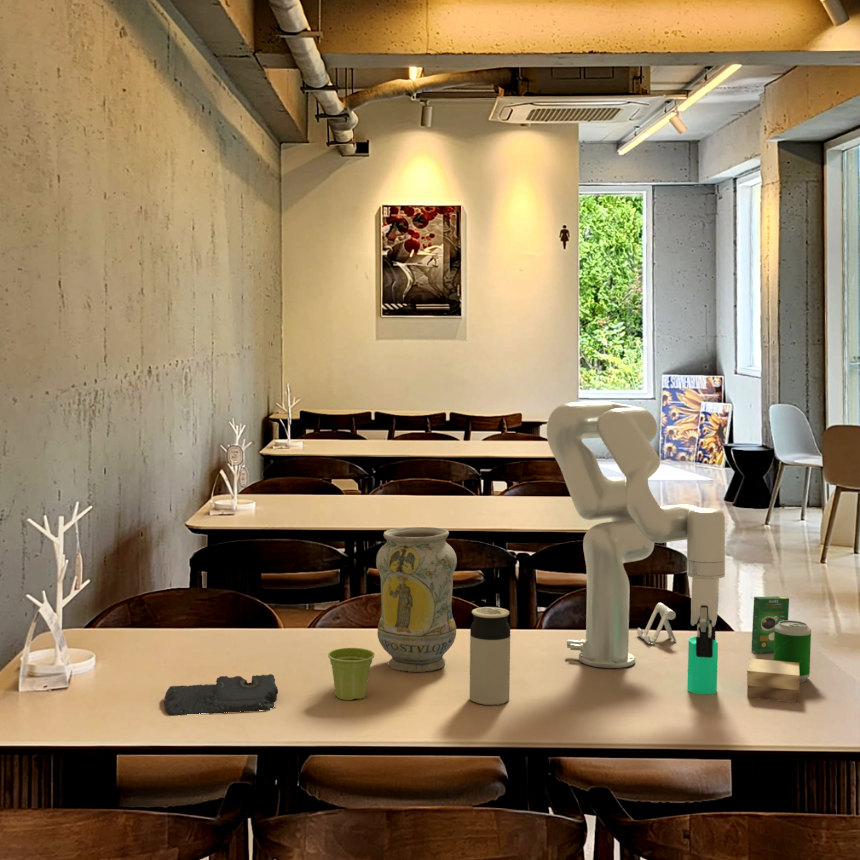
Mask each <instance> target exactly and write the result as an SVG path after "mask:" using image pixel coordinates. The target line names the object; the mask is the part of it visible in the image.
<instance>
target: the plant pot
mask: <svg viewBox="0 0 860 860" xmlns="http://www.w3.org/2000/svg"><path fill="white" fill-rule="evenodd" d="M327 657H328V658H329V661H330V662H329V663H330V665H331V670H332V676H333V678H332V679H333V686H334V693H335V697H337V698H338V699H340V700H343V701H344V700H345V701H353V700H355V699H356V700H361V698H362V699H363V698H365V697H366V696H367V689H368V684H369V683H368V681H369V675H370V669H371V665H372V662H373V659H374V657H375V653H374V651H372V650H370V649H365V648H360V647H345V648H344V647H343V648H337V649H333V650H331V651H329V652H327Z"/></svg>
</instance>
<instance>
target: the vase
mask: <svg viewBox="0 0 860 860" xmlns="http://www.w3.org/2000/svg"><path fill="white" fill-rule="evenodd" d="M449 535H450V532H449V530H448V529H445V528H441V527H433V526H432V527H431V526H410V527H408V526H407V527H399V528H398V527H397V528H391V529H387V530H386V531H384V532H383V538H384V539H385V540H386V543H384V544H383V545H382V546H381V547H380V548H379V550H378V551H377V554H376V558H375V564H376V569H377V572H378V573H379V575H380V576H379V577H380V597H381V599H380V600H381V615H380V619H379V621H378V625H377V634H376V635H377V639H378V641H379V644H380V645H381V646H382V647H381V648H382V649H383V650H384V651H385V652H386V653H387V654H388V655H389V656H391V659H390V660H388V663H387V664H388V667H390V668H391V669H393V670H395V669H397V670H396V671H400V670H401V672H406V671H408V672H407V673H426V672H425V671H428V672H432V671H437V669H438V670H441V669H442V668H444V667H445V665H446V659H444V655H445V654H446V652H447V653H448V651H449V650H450V648H451V647H452V646H453V644H454V642H455V640H456V638H457V637H456V635H457V625H456V622H455V619H454V617H453V613H452V612H453V611H452V609H453V608H452V601H453V587H454V586H453V581H454V580H453V578H454V577H453V575H454V572H455V570H456V568H457V564H458V562H457V560H458V559H457V554H456V552H455V550H454V548H452V546H451V545H450V544H449V543H447V541H446V540H447V538H448V537H449ZM440 668H441V669H440Z"/></svg>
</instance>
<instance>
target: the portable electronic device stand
mask: <svg viewBox="0 0 860 860" xmlns="http://www.w3.org/2000/svg"><path fill="white" fill-rule="evenodd" d="M658 613H659V615H660V617H661V618H660V621H659V624H658V626H657V628H656V630H655V633H654V635H653V637H651V636H650V635H648V634H649V631H650V630H651V627H652V625H653V622H654V621H655V619H656V617H657V614H658ZM676 615H677V613H676V612H675V611H673V609H671V608H669V606H667V605H665V604H664V603H662V602H658V603H657V604H656V605H655V607H654V610H653V612H652V613H651V616H650V618H649V619H648V622H647V625H646V627H645V629H644V630H643V629H641V628H640V627H637V631H636V633H637V636H639V637H640V638H641V639H642V640H643V639H644V640H643V641H644V642H645V643H647V644H648V645H649V644H651V643H653V644H654V645H655V644H656V642H657V640H658V638H659V635H660V633H661V631H662V629H663V626H664V628H665V630H666V633H667V634H668V638H669V637H670V638H672V640H673V642H674V641H676V642H677V639H676V637H675V635H674V632H673V630H672V627H671V624H670V622H669V620H674V619H676ZM670 638H669V639H670ZM649 642H650V643H649Z"/></svg>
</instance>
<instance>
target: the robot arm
mask: <svg viewBox="0 0 860 860" xmlns="http://www.w3.org/2000/svg"><path fill="white" fill-rule="evenodd" d="M657 433H658V424H657V422H656V419H655V417H654V416H653V414H652V412H650V411H648V410H647V409H646V408H644V407H639V406H633V405H629V404H628V405H627V404H621V403H616V402H612V401H573V402H566V403H564V404H560V405H559V406H557V407H555V408H554V409H553V410H552V412H551V413H550V415H549V417H548V420H547V424H546V438H547V442H548V446H549V448H550V451H551V453H552V455H553V456H554V457H553V458H554V459H555V461H556V462H557V464H558V466H559V468H560V471H561V473H562V475H563V479H564V481H565V485H566V487H567V490H568V492H569V495H570V498H571V500H572V503H573V506H574V508H575V510H576V512H577V514H578V516H579V517H581V519H584V520H587V521H599V520H606V519H610V520H611V521H607V522H601V523H600V522H599V523H598V524H595V525H593V526H592V527H590V528H589V529H588V530H587V531H586V533H585V535H584V536H583V541H582V542H583V543H582V546H583V554H584V561H585V566H586V567H585V569H586V615H585V617H586V622H585V625H586V626H585V628H586V630H585V632H586V633H585V639H581V640H576V639H567V641H566V648H567V649H570V651H580V653H579V654H578V661H579V662H581V663H582V664H584V665H587V666H590V667H595V668H601V669H602V668H603V669H619V668H620V669H622V668H627V667H630V666H632V665H634V664H635V663H636V657H635V655H633V654H632V653H630V652H629V636H630V635H629V631H630V630H629V627H630V626H629V625H630V624H629V623H630V580H629V577H628V574H627V571H626V570H625V567H624V564H625V563H631V562H637V561H642V560H644V559H647V558H648V557H649V556H650V555H651V554H652V552H653V551H654V548H655V544H656V543H657V544H663V543H671V542H678V541H680V542H681V541H686V543H687V544H686V546H687V547H686V548H687V549H686V555H687V557H686V562H687V563H686V566H687V567H686V568H687V569H686V570H687V571H686V576H687V577H690V578H692V580H691V591H690V592H691V595H690V596H691V599H690V625H691V626H695V625H696V626H697V627H696V630H697V631H696V636H697V637H696V636H695V637H696V656H697V657H708V658H711V657H712V656H713V640H716V627H715V626H716V624H717V623H716V622H717V621H718V620H717V618H718V612H719V602H720V601H719V600H720V599H719V597H720V596H719V594H720V592H719V591H720V585H719V583H720V580H719V579H722V578H725V577H726V555H725V554H726V517H725V514H724V512H723V511H722V510H720V509H717V508H709V507H708V508H707V507H706V508H705V507H703V508H702V507H698V506H695V505H693V504H687V503H685V504H684V503H683V504H671V505H664V506H663V505H662V506H660V504H659V503H658V501H657V499H656V498H655V497H654V495H653V493H652V492H651V490H650V486H649V478H650V477H652V476H653V475H654V474H655V473H656V472H657V470H658V469H659V467H660V466H661V459H660V456H659V455H658V453H657V452H656V451H655V449H654V447H653V445H651V442H653V440H655V438H656V435H657ZM584 439H601V441H602V442H603V444H604V445H605V447H606V449H607V450H608V452H609V454H610V455H611V457H612V458H613V460H614V462H615V463H616V465H617V466H618V468H619V470H620V471H621V473H622V475H623V476H624V477H621V476H608V477H606V476H605V475H604V474H603V472H602V469H601V468H600V464H599V462H598V460H597V458H596V455H595V454H594V453H593V452H592V450H591V449H590V448H588V446H587V445H586V444H584V442H583V440H584Z"/></svg>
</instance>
